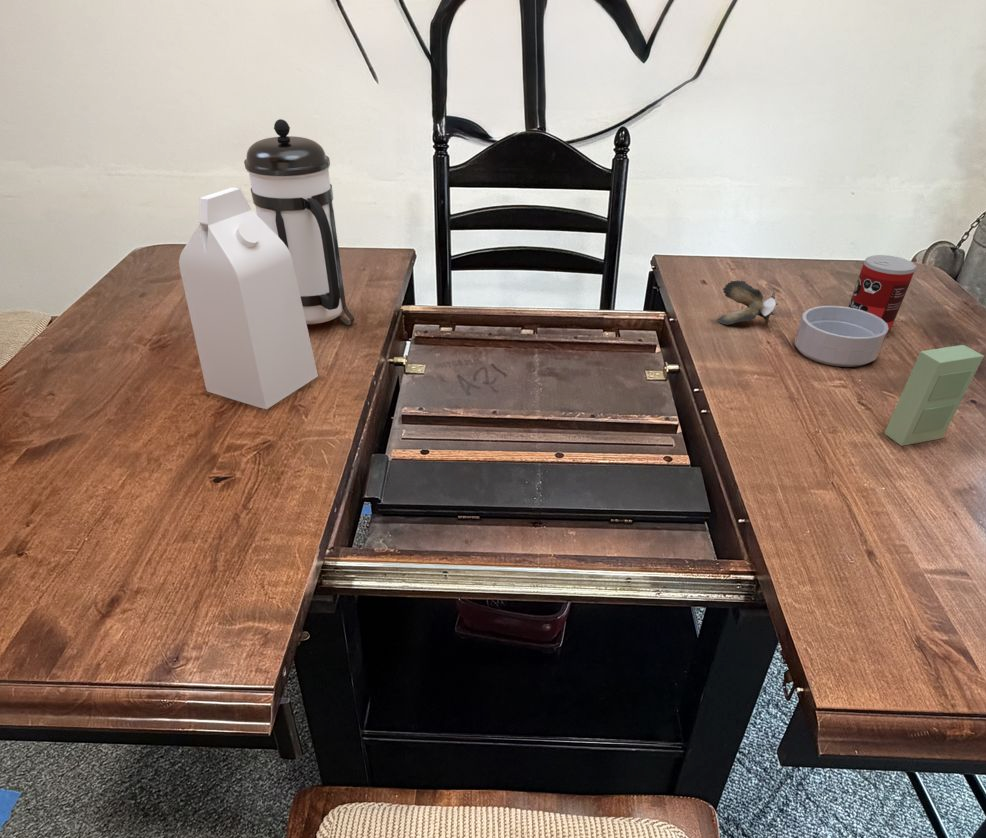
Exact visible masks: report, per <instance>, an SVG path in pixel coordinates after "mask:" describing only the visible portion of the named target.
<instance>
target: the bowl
mask: <svg viewBox="0 0 986 838" xmlns="http://www.w3.org/2000/svg"><path fill="white" fill-rule="evenodd" d="M888 330H889V328H888V325H887V323H886V322H885V321H884V320H883V319H881V318H879V317H878V316H876V315H874V314H871V313H868V312H866V311H863V310H859V309H855V308H850V307H848V306H841V305H818V306H814V307H811V308H809V309H805V311H803V313H802V314H801V317H800V320H799V324H798V327H797V330H796V333H795V337H794V346H795V347H796V348H797V350H798V351H799V352H800V354H802V355H803V356H804V357H806V358H808V359H810V360H812V361H815V362H817V363H820V364H824V365H828V366H833V367H843V368H851V367H852V368H854V367H855V368H856V367H861V366H865V365H867V364H870V363H872V362H874V361H875V360H876V359H877V358H878V357H879V356H880V355H879V354H880V352H881V350H882V347H883V344H884V342H885V339H886V337H887V336H888V335H887V334H888V333H889V332H888ZM889 331H890V330H889ZM887 332H888V333H887Z"/></svg>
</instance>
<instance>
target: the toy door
mask: <svg viewBox="0 0 986 838" xmlns="http://www.w3.org/2000/svg"><path fill="white" fill-rule="evenodd" d="M984 357H985V355H983V354H982V353H980V352H978V351H976V350H974V349H972V348H971V347H969V346H966V345H965V344H960V345H953V346H946V347H940V348H939V347H938V348H934V349H933V348H932V349H926V350H920V351H919V353H918V356H917V358H916V360H915V363H914V364H913V367H912V369H911V371H910V374H909V376H908V378H907V380H906V383H905V385H904V387H903V390H902V392H901V394H900V397H899V399H898V401H897V404H896V406H895V408H894V410H893V412H892V415H891V417H890V420H889V421H888V424H887V426H886V429H885V431H884V432H883V433H884V434H883V435H885V436H887V437H888V438H889V439H891V440H892V441H894V442H895V443H897V444H898V445H899V446H901V447H903V446H909V445H914V444H919V443H925V442H930V441H931V442H932V441H935V440H936V441H937V440H941V439H943V438H944V437H945V434H946V432H947V430H948V428H949V426H950V424H951V422H952V420H953V418H954V416H955V414H956V412H957V410H958V408H959V406H960V404H961V402H962V401H963V398H964V397H965V395H966V392H967V390H968V389H969V386H970V384H971V383H972V381H973V379H974V377H975V375H976V373H977V371H978V369H979V367H980V365H981V363H982V361H983V359H984Z"/></svg>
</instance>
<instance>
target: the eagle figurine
mask: <svg viewBox="0 0 986 838" xmlns="http://www.w3.org/2000/svg"><path fill="white" fill-rule="evenodd" d="M722 290H723V293H724V296H725V297H726V298H728V299H730V300H733V302H736V303H738V304H742V305H744V306H746V308H743V309H742V308H741V309H738V310H734V311H731V312H729V313H728V314H723V315H721V316H719V317H718V318H716V321H717V322H718V323H720V324H722V325H733V324H735V323H740V322H744V321H746V322H750V321H753V320H755V319H756V318H757V316H759V317H761V318H762V319H763V320H764V323H765V324H766V325H768V324H769V321H770V316H775V313H774V310H775V308H776V306H778V305H779V302H776V296H775V295H776V290H774V291H773V292H772V294H771V296H770V297H769V298H767V299H766V300H764V301H763V299H764V295H763V293H762V292H761V290H760V289H757V288H754V287H753V286H752V285H750V284H749V283H747V282H746V281H744V280H740V279H737V280H731V281H730V282H728V283H727V284H725V287H723V288H722Z"/></svg>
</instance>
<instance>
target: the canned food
mask: <svg viewBox="0 0 986 838" xmlns="http://www.w3.org/2000/svg"><path fill="white" fill-rule="evenodd" d="M916 268H917V265H916V264H915V263H914V262H912V261H911V260H909V259H906V258H903V257H899V256H895V255H887V254H875V255H870V256H867V257H866V258H865V260H864V262H863V264H862V267H861V269H860V271H859V275H858V279H857V281H856V284H855V286H854V289H853V292H852V295H851V298H850V300H849V302H848V303H849V304H848V306H847V307H850V308H855V309H859V310H863V311H866V312H868V313H871V314H874V315H876V316H878V317H879V318H881V319H883V320H884V321H885V322H886V323H887V325H888V328H889V330H888V332H887V334H888V333H889V332H890V331H891V329H892V328H893V325H894V323H895V321H896V318H897V316H898V314H899V311H900V308H901V307H902V304H903V302H904V298H905V297H906V294H907V291H908V289H909V287H910V284H911V281H912V279H913V276H914V274H915V272H916Z"/></svg>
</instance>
